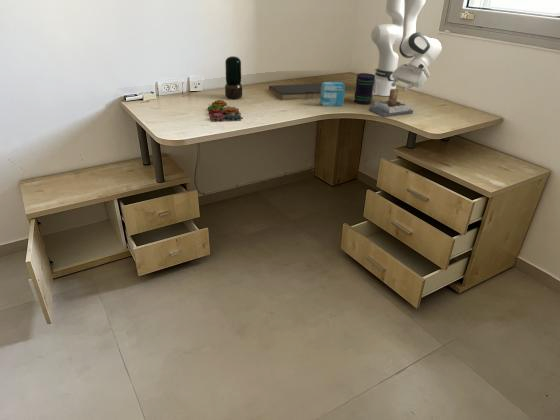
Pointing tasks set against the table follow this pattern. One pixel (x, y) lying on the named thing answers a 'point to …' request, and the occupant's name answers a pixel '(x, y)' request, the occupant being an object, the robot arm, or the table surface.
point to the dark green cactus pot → (233, 78)
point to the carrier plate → (390, 108)
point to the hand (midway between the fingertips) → (398, 88)
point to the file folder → (297, 91)
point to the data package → (332, 93)
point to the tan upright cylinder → (392, 97)
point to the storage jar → (364, 88)
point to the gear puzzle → (223, 112)
